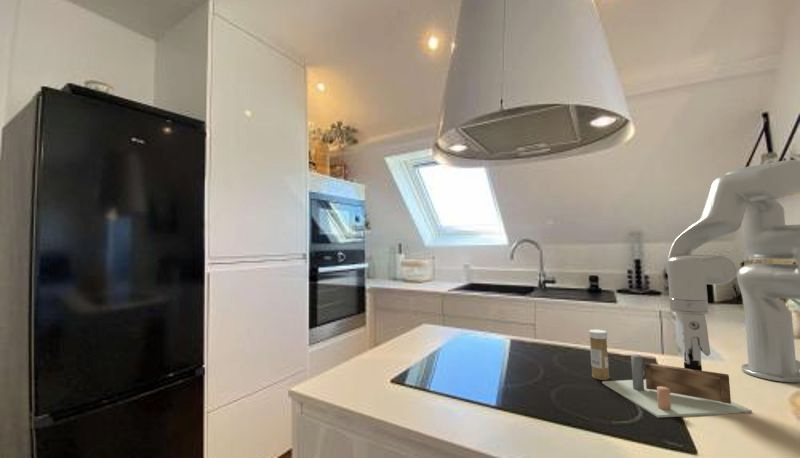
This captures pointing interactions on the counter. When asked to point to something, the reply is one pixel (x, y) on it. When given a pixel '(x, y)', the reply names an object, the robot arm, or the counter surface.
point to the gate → (689, 382)
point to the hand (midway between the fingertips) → (693, 379)
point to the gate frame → (667, 397)
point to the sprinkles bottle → (599, 354)
